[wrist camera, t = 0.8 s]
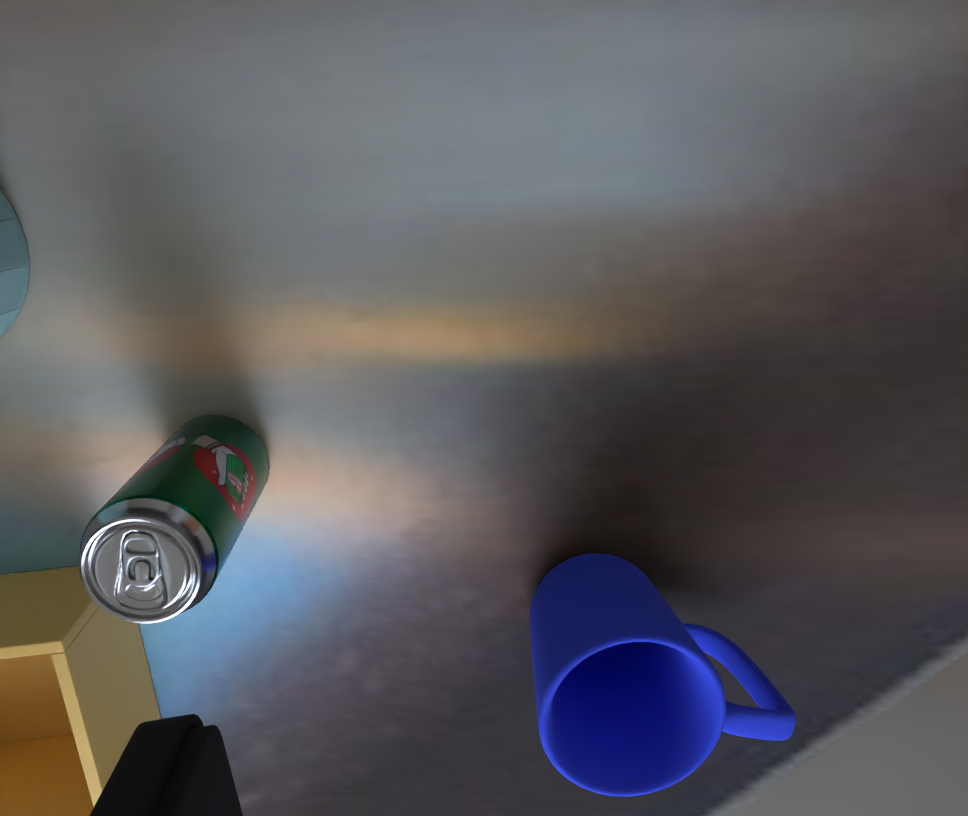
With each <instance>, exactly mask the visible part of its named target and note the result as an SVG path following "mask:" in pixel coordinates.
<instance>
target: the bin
mask: <svg viewBox="0 0 968 816" xmlns="http://www.w3.org/2000/svg"><path fill="white" fill-rule="evenodd" d="M159 719H161V716H160V712H159V708H158V704H157V700H156V695H155V691H154V687H153V683H152V679H151V675H150V670H149V666H148V662H147V658H146V654H145V650H144V646H143V641H142V637H141V633H140V629H139V625H138V623H133V622H129V621H124V620H122V619H119V618H116V617H114V616H112V615H110V614H109V613H107V612H105V611H104V610H103V609H101V608H100V607H99V606H98V605H97V604H96V603H95V602H94V601H93V600H92V599H91V598H90V596H89V595H88V593H87V592H86V590H85V588H84V586H83V584H82V581H81V578H80V571H79V566H75V567H66V568H57V569H48V570H39V571H30V572H21V573H12V574H4V575H0V816H89V815H90V814H91V812H92V810H93V808H94V806H95V804H96V802H97V800H98V798H99V797H100V795H101V793H102V791H103V789H104V787H105V785H106V783H107V781H108V780H109V778H110V776H111V774H112V772H113V770H114V768H115V766H116V764H117V763H118V761H119V759H120V757H121V755H122V753H123V751H124V749H125V747H126V746H127V744H128V742H129V740H130V738H131V736H132V734H133V732H134V730H135V729H136V728H137V726H138V725H139V724H141V723H143V722H147V721H153V720H159Z"/></svg>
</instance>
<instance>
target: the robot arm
mask: <svg viewBox="0 0 968 816" xmlns="http://www.w3.org/2000/svg"><path fill="white" fill-rule="evenodd" d="M89 816H243V814H242V811H241V807H240V803H239V799H238V795H237V792H236V788H235V784H234V780H233V777H232V773H231V769H230V765H229V761H228V758H227V754H226V750H225V746H224V743H223V739H222V736H221V733H220V730H219V729H218V727H217V726H215V725H210V726H203V723H202V721H201V719H200V718H199V716H197V715H195V714H190V715H184V716H178V717H172V718H165V719H159V720H153V721H147V722H143V723H141V724H139V725H138V726H137V728H136V729H135V730H134V732H133V734H132V736H131V738H130V740H129V742H128V744H127V746H126V747H125V749H124V751H123V753H122V755H121V757H120V759H119V761H118V763H117V764H116V766H115V768H114V770H113V772H112V774H111V776H110V778H109V780H108V781H107V783H106V785H105V787H104V789H103V791H102V793H101V795H100V797H99V798H98V800H97V802H96V804H95V806H94V808H93V810H92V812H91V814H90V815H89Z"/></svg>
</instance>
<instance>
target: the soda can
mask: <svg viewBox="0 0 968 816" xmlns="http://www.w3.org/2000/svg"><path fill="white" fill-rule="evenodd" d="M269 468H270V464H269V456H268V452H267V450H266V447H265V445H264V443H263V442H262V440H261V438H260V437H259V436H258V435H257V434H256V432H255V431H254V430H252V429H251V428H250V427H249V426H248V425H246V424H244V423H243V422H241V421H239V420H237V419H234V418H231V417H228V416H222V415H206V416H201V417H198V418H195V419H192V420H190V421H188V422H186V423H185V424H184V425H182V426H181V427H180V428H179V429H178V430H177V431H176V432H175V433H174V434H173V435H172V436H171V437H170V438H169V439H168V440H167V441H166V442H165V443H164V444H163V445H162V446H161V447H160V448H159V449H158V450H157V451H156V452H155V453H154V455H153V456H152V457H151V458H150V459H149V460H148V461H147V462H146V463H145V464H144V465H143V466H142V467H141V468H140V469H139V470H138V471H137V472H136V473H135V474H134V475H133V476H132V477H131V478H130V479H129V480H128V481H127V482H126V483H125V484H124V485H123V486H122V487H121V488H120V490H119V491H118V492H117V493H116V494H115V495H114V496H113V497H112V498H111V499H110V500H109V501H108V502H107V503H106V504H105V505H104V506H103V507H102V508H101V509H100V510H99V511H98V512H97V513H96V514H95V515H94V516H93V517H92V519H91V520H90V522H89V523H88V525H87V526H86V528H85V531H84V533H83V535H82V540H81V544H80V559H79V571H80V578H81V581H82V584H83V586H84V588H85V590H86V592H87V593H88V595H89V596H90V598H91V599H92V600H93V601H94V602H95V603H96V604H97V605H98V606H99V607H100V608H101V609H103V610H104V611H105V612H107V613H109V614H110V615H112V616H114V617H116V618H119V619H122V620H124V621H129V622H133V623H156V622H161V621H164V620H167V619H170V618H172V617H174V616H176V615H178V614H179V613H182V612H184V611H186V610H188V609H190V608H192V607H193V606H195V605H196V604H198V603H199V602H200V601H201V600H202V599H203V598H204V597H205V596H206V595H207V594H208V592H209V591H210V589H211V588H212V586H213V584H214V582H215V580H216V578H217V577H218V575H219V573H220V571H221V569H222V567H223V565H224V563H225V561H226V559H227V557H228V555H229V554H230V552H231V550H232V548H233V546H234V544H235V542H236V540H237V538H238V536H239V534H240V532H241V531H242V529H243V527H244V525H245V523H246V521H247V519H248V517H249V515H250V513H251V511H252V510H253V508H254V506H255V504H256V502H257V500H258V498H259V496H260V494H261V492H262V490H263V488H264V486H265V484H266V482H267V479H268V476H269Z"/></svg>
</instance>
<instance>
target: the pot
mask: <svg viewBox="0 0 968 816" xmlns="http://www.w3.org/2000/svg"><path fill="white" fill-rule="evenodd" d="M28 279H29V256H28V250H27V245H26V240H25V237H24V234H23V231H22V227H21V225H20V223H19V221H18V218H17V216H16V214H15V212H14V210H13V209H12V207H11V205H10V204H9V202H8V200H7V199H6V197H5V196H4V195H3V193H2V192H1V191H0V337H1V336H2V335H4V333H5V332H6V331H7V330H8V329H9V327H10V326H11V325H12V324H13V322H14V320H15V319H16V317H17V315H18V314H19V312H20V309H21V307H22V304H23V302H24V299H25V296H26V291H27V287H28Z"/></svg>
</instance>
